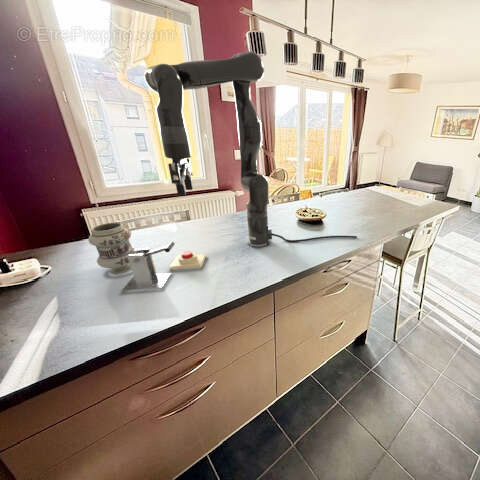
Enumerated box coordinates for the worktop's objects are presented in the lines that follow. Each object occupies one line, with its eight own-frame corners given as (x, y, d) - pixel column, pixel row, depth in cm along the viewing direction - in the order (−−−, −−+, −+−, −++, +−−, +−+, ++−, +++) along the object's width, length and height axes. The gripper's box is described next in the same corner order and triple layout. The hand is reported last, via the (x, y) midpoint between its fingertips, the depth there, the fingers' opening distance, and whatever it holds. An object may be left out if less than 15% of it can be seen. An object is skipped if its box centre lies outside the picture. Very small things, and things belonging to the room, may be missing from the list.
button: (193, 254, 98) (192, 250, 97) (191, 258, 95) (190, 254, 94) (184, 254, 97) (183, 251, 96) (181, 259, 94) (180, 255, 93)
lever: (176, 245, 84) (172, 240, 82) (171, 252, 79) (167, 246, 78) (141, 257, 83) (137, 251, 82) (134, 264, 78) (129, 258, 77)
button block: (206, 258, 102) (204, 250, 101) (201, 269, 94) (199, 260, 93) (178, 260, 100) (176, 251, 99) (170, 271, 92) (168, 262, 91)
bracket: (172, 275, 90) (163, 244, 85) (162, 290, 82) (153, 257, 77) (135, 278, 88) (124, 246, 82) (122, 293, 80) (109, 259, 74)
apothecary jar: (119, 261, 98) (104, 219, 90) (149, 262, 97) (136, 221, 90) (93, 278, 87) (73, 232, 79) (126, 280, 86) (110, 233, 79)
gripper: (181, 143, 71) (192, 197, 77) (194, 140, 83) (202, 187, 90) (153, 142, 69) (166, 198, 76) (170, 140, 82) (180, 187, 89)
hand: (186, 192), depth 83 cm, fingers open, 8 cm apart
